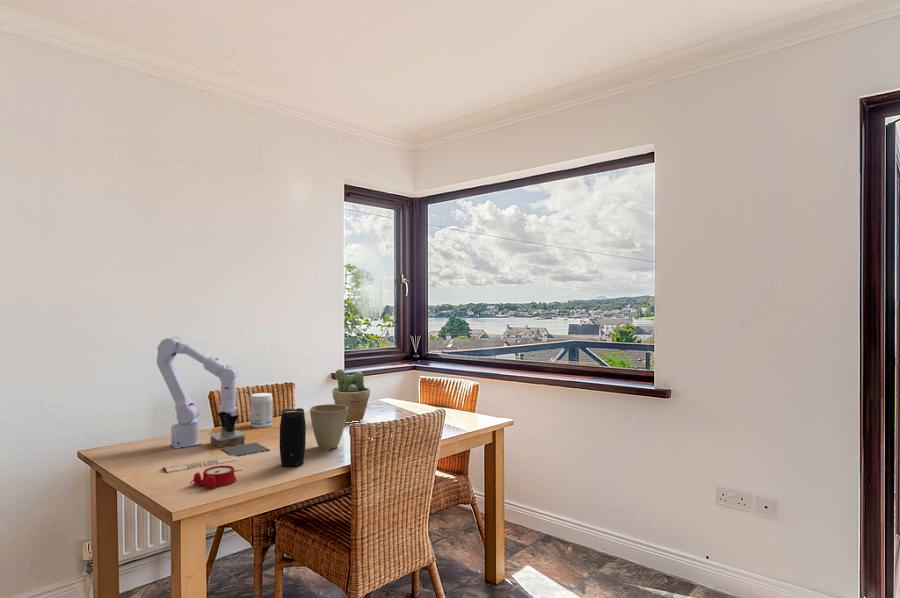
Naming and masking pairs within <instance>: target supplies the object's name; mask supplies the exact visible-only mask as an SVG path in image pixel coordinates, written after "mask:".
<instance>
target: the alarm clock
mask: <svg viewBox="0 0 900 598" xmlns="http://www.w3.org/2000/svg"><path fill="white" fill-rule="evenodd" d="M242 470H243V469H238V470H235V467H234V466H232V465H231V466H230V465H216V466H215V465H214V466H210V467H208V468H205V469H204V470H203V473H202V474H203V476H201V473H200V472H199V471H198V472H196V473H195V474H193V479H192V480H191V481H190V484H191V485H193V486H196V487H201V486H203V487H204V488H205V489H207V490H213V489H215V488H218V487H219V488H220V487H224V486H225V487H226V486H228V484H229V485H230V484H234V483H235V482H236V481H237V477H236V475H235V472H242Z"/></svg>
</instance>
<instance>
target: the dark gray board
mask: <svg viewBox="0 0 900 598" xmlns="http://www.w3.org/2000/svg"><path fill="white" fill-rule="evenodd" d="M221 449H222V450H221ZM220 450H221V451H223V450H224V451H223V452H225V453H226V452H227V453H226V454H228V453H229V454H230V455H229V454H228V455H229V456H231V455H232V456H233V455H234V456H238V457H242V455H243V456H247V454H249V455H254V454H258V452H260V453H265V452H264V451H266V452H270V451H271V449H269V447H266V446H263V445H262V444H260V443H258V442H250V443H244V444H241V445H235V446H229V447H223V448H220ZM269 450H270V451H269ZM253 453H254V454H253Z"/></svg>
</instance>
